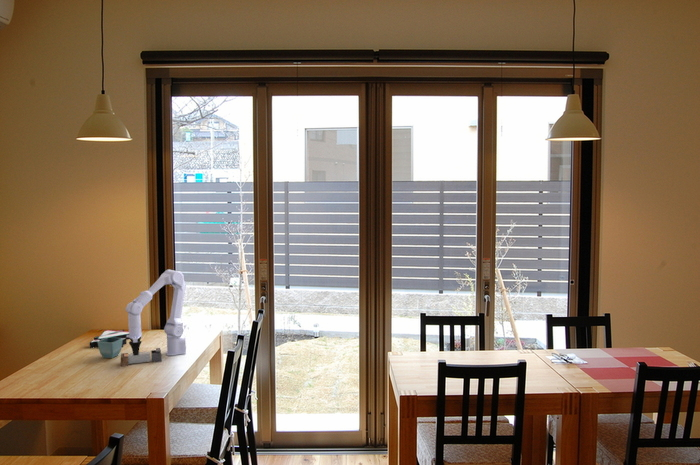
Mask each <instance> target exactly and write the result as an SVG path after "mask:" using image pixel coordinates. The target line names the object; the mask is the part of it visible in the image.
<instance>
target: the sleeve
mask: <svg viewBox="0 0 700 465" xmlns="http://www.w3.org/2000/svg"><path fill="white" fill-rule="evenodd" d="M161 351H162V350H161V347H156V348H155V349H154V350H150V359H151V363H159V362H162V352H161Z"/></svg>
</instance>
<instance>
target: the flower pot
mask: <svg viewBox="0 0 700 465" xmlns="http://www.w3.org/2000/svg"><path fill="white" fill-rule="evenodd" d="M122 339H123V338H112V337H108V338H105V339H103V340H101V341H98V347H97V348H98V351H99V353H100V355H101V357H102V358H105V359H114V358H115V357H118V356H119V354H121V350H122V348H123V347H122Z"/></svg>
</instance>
